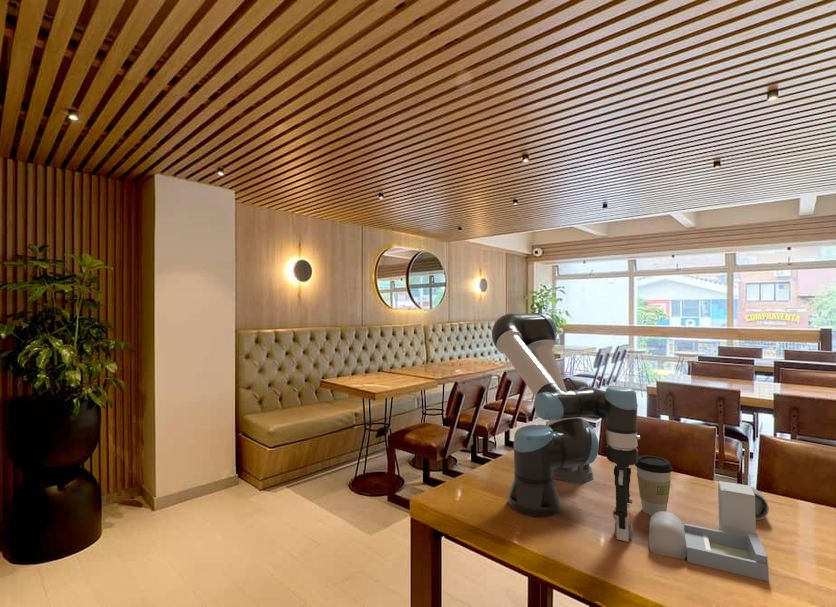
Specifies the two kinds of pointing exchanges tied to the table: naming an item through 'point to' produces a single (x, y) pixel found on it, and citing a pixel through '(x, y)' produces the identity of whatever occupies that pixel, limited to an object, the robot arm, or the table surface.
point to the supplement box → (736, 508)
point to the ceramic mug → (760, 505)
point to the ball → (630, 516)
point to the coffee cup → (653, 483)
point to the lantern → (576, 472)
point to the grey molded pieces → (707, 546)
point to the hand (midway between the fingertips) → (623, 533)
